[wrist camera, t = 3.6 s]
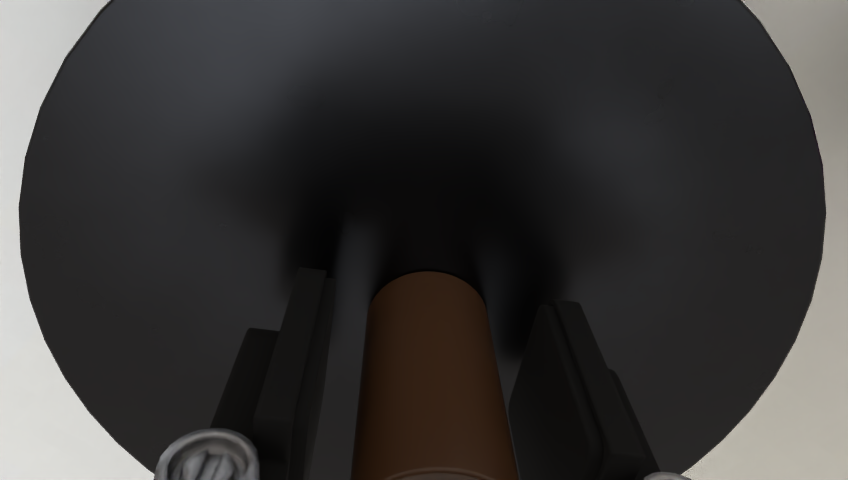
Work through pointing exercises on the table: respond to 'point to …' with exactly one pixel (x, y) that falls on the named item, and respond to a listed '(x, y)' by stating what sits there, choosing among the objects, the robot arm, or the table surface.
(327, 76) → the lid
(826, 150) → the table surface
